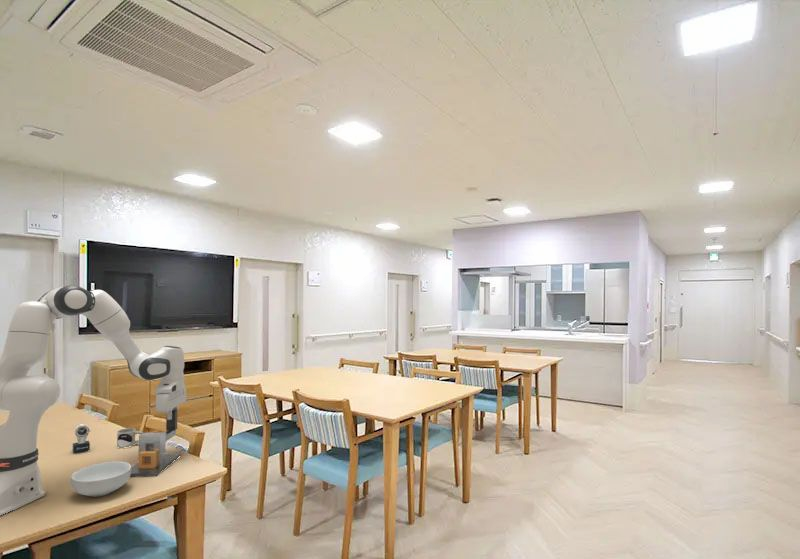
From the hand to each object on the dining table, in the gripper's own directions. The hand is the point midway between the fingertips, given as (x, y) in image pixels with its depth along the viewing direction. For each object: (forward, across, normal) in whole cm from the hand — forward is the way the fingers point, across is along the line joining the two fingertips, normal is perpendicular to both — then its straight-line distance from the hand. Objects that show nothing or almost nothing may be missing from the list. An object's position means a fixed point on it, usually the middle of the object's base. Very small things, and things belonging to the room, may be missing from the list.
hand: (171, 418), depth 189 cm
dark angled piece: (+7, +7, 0) cm, 10 cm away
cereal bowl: (+14, +37, -6) cm, 40 cm away
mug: (+14, -10, -22) cm, 28 cm away
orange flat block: (+13, +19, 0) cm, 23 cm away
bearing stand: (+14, +16, 0) cm, 21 cm away
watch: (+14, -4, -39) cm, 42 cm away
